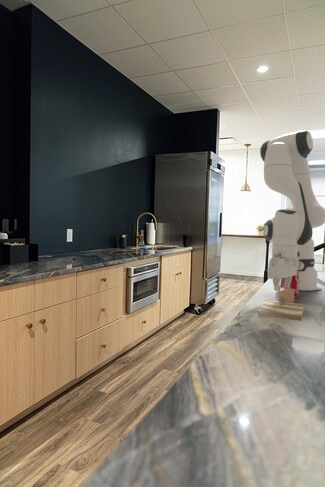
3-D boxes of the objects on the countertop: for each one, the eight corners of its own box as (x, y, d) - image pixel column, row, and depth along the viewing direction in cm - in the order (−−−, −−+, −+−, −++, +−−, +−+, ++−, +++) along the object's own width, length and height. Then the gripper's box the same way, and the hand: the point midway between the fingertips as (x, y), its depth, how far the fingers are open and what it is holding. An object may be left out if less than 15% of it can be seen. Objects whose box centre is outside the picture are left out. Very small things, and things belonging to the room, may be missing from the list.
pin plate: (266, 303, 121) (266, 290, 121) (303, 308, 116) (304, 294, 115) (257, 315, 106) (258, 299, 106) (300, 320, 100) (301, 304, 100)
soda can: (295, 294, 138) (296, 266, 138) (300, 298, 131) (302, 269, 131) (278, 294, 139) (279, 266, 138) (282, 298, 132) (284, 268, 131)
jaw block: (280, 300, 128) (280, 287, 127) (293, 301, 125) (294, 289, 125) (278, 304, 121) (278, 290, 121) (292, 305, 119) (292, 292, 119)
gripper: (281, 254, 113) (279, 293, 114) (301, 252, 128) (299, 287, 129) (264, 252, 117) (262, 290, 118) (285, 251, 132) (283, 284, 133)
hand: (281, 289), depth 123 cm, fingers open, 8 cm apart
